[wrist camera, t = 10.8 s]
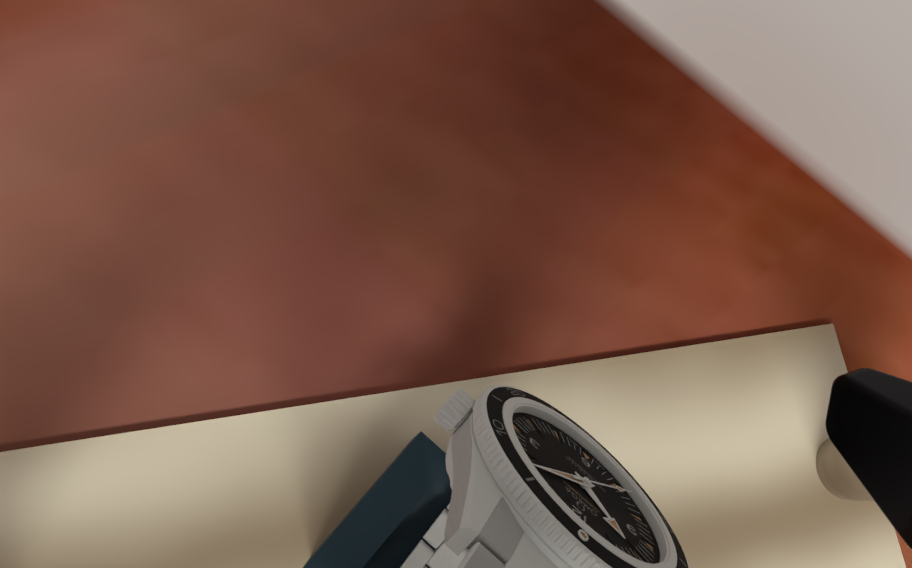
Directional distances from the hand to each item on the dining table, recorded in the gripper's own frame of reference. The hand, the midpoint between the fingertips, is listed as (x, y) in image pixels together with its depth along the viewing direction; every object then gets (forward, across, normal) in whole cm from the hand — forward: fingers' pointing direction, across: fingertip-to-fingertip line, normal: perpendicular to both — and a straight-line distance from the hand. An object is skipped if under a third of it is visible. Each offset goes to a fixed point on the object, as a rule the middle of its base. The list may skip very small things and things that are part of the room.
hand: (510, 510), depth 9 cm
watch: (+8, 0, +11) cm, 13 cm away
